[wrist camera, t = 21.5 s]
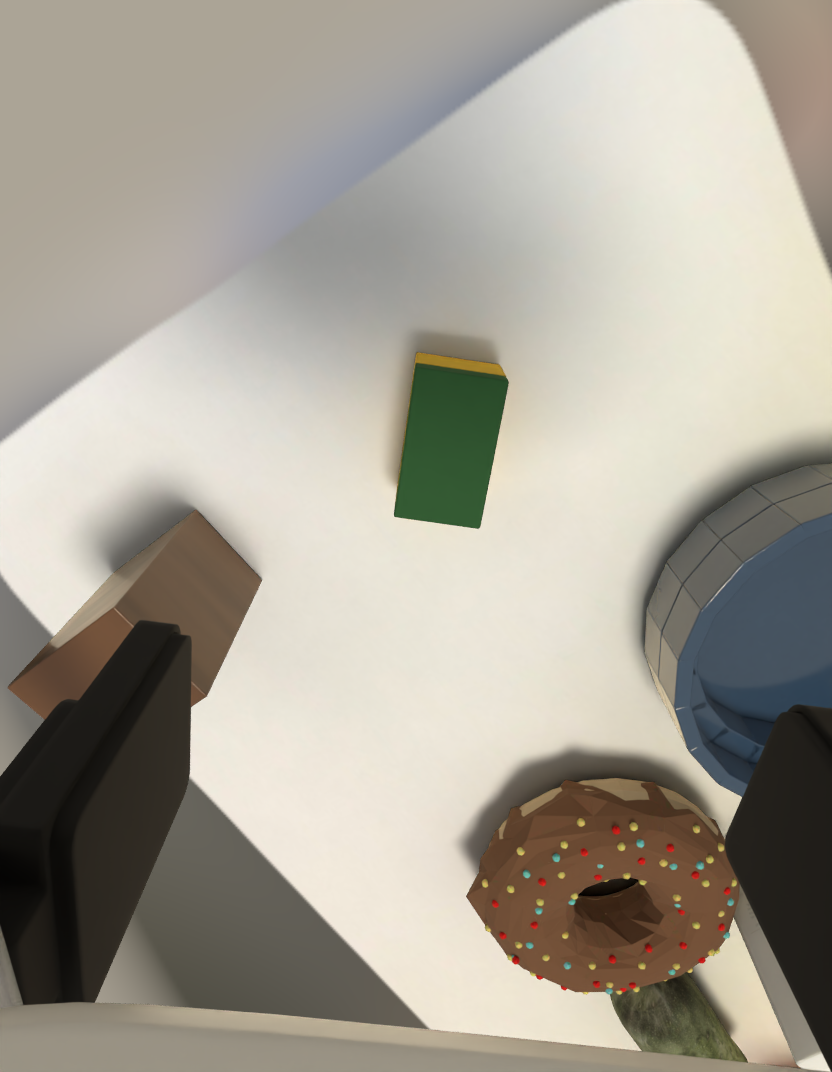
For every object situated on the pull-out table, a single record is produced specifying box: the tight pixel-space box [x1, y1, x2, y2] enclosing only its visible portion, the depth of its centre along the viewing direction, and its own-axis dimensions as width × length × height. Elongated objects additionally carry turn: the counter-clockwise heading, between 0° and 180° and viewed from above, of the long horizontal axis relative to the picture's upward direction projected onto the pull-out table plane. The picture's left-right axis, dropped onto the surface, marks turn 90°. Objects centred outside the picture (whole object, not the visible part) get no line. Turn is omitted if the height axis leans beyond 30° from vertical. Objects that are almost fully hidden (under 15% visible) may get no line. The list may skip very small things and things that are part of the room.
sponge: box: [394, 352, 509, 529], centre depth 28 cm, size 6×4×4 cm, turn 172°
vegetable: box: [610, 972, 748, 1063], centre depth 42 cm, size 14×5×5 cm, turn 31°
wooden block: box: [8, 510, 262, 720], centre depth 29 cm, size 6×4×9 cm
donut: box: [466, 778, 740, 995], centre depth 37 cm, size 14×14×5 cm
